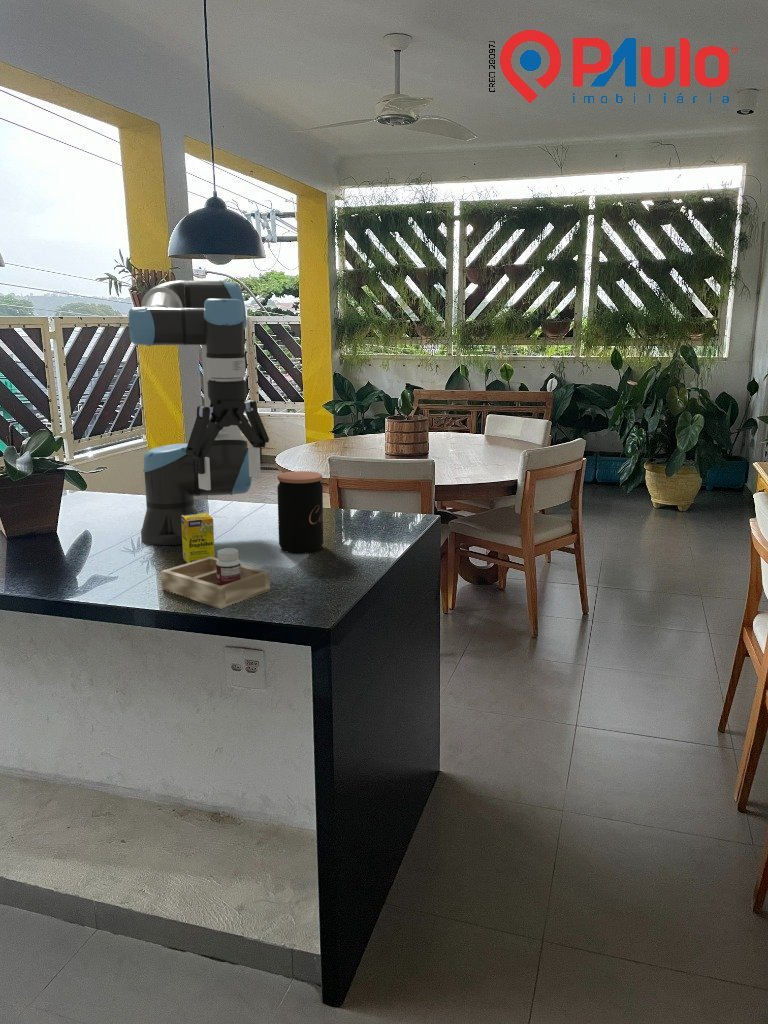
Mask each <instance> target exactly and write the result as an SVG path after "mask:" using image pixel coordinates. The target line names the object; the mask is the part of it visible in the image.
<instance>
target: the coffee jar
mask: <svg viewBox="0 0 768 1024" xmlns="http://www.w3.org/2000/svg"><path fill="white" fill-rule="evenodd" d="M276 477H277V480H278V485H277V488H276V489H277V516H278V517H277V521H278V522H277V525H278V528H277V529H278V545H279V547H280V548H281V550H282V551H283V552H285V553H288V554H295V555H297V554H298V555H299V554H300V555H303V554H310V553H315V552H318V551H319V550H321V547H323V544H324V501H323V500H324V495H323V494H324V492H323V491H324V488H323V487H324V486H323V484H322V482H321V481H322V480H323V474H322V473H319V472H315V471H307V470H294V471H285V472H281V473H279V474H277V476H276Z"/></svg>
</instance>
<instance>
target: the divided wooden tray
mask: <svg viewBox="0 0 768 1024" xmlns="http://www.w3.org/2000/svg"><path fill="white" fill-rule="evenodd" d="M217 560H218V557H211V556H210V557H207V558H203V559H200V560H197V561H193V562H190V563H183V564H180V565H177V566H173V567H170V568H167V569H163V570H160V572H161V573H160V574H161V589H162V591H164V590H166V591H165V592H168V591H169V592H168V593H171V592H173V593H172V594H174V593H176V594H175V595H177V594H179V595H178V596H180V595H181V596H180V597H183V596H184V598H186V597H187V598H186V599H189V598H190V600H193V601H195V602H199V603H202V604H205V605H207V606H212V607H214V608H218V609H220V610H222V609H224V608H225V609H226V608H228V607H230V606H233V605H235V603H236V604H238V603H240V601H241V602H244V601H246V600H250V599H252V598H254V597H257V596H260V595H262V593H263V594H265V593H268V592H270V591H271V590H270V587H271V586H270V585H271V584H270V583H271V582H270V571H267V570H263V569H260V568H255V567H253V566H248V565H246V564H245V565H244V564H241V579H240V580H237V581H234V582H231V583H228V584H225V585H222V586H219V585H217V570H216V562H217ZM245 599H246V600H245ZM243 600H244V601H243ZM232 604H233V605H232ZM229 605H230V606H229ZM227 606H228V607H227Z"/></svg>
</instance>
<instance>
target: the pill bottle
mask: <svg viewBox="0 0 768 1024" xmlns="http://www.w3.org/2000/svg"><path fill="white" fill-rule="evenodd" d="M239 557H240V556H239V549H238V548H233V547H227V548H226V547H225V548H222V549H219V550H217V558H218V560H217V562H216V570H217V585H219V586H222V585H225V584H228V583H231V582H234V581H237V580H240V579H241V565H242V563H241V560H240V558H239Z"/></svg>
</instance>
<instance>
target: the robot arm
mask: <svg viewBox="0 0 768 1024" xmlns="http://www.w3.org/2000/svg"><path fill="white" fill-rule="evenodd" d="M245 305H246V304H245V300H244V296H243V292H242V289H241V287H240V284H238V283H237V282H236V281H235V282H234V281H225V280H182V279H181V280H180V279H179V280H178V279H177V280H172V281H171V280H170V281H166V282H162V283H160V284H157V285H156V286H154V287H151V288H150V289H149V290H148V291H146V292H145V293H144V295H143V298H142V300H141V306H140V307H139V306H136V307H131V308H130V309H129V311H128V329H129V330H128V331H129V337H130V338H129V339H130V341H131V343H132V344H134V345H136V346H147V347H151V346H201V360H202V361H201V362H202V378H203V379H202V381H203V401H204V405H198V406H197V407H196V419H195V421H194V423H193V427H192V430H191V433H190V435H189V440H188V441H187V442H188V443H173V444H167V445H160V446H156V447H153V448H151V449H149V450H148V451H146V452H145V453H144V456H143V469H142V471H143V472H144V483H145V484H144V486H145V487H144V488H145V502H146V503H145V504H146V510H145V515H144V517H143V522H142V523H143V524H142V527H141V529H140V535H141V536H140V537H141V541H142V542H143V543H145V544H149V545H156V546H173V545H174V546H176V545H182V524H181V515H191V514H198V512H197V509H196V506H195V505H196V504H195V497H199V496H200V497H204V496H205V497H206V496H227V495H230V496H233V495H238V494H239V495H243V494H246V493H248V492H249V491H250V490H251V485H252V482H253V478H254V479H261V478H262V477H261V475H262V474H261V462H262V460H263V458H262V457H263V456H262V453H263V452H262V449H263V448H265V447H266V443H269V442H270V438H269V435H268V433H267V431H266V428H265V425H264V423H263V421H262V419H261V416H260V414H259V412H258V403H257V401H256V400H250V399H246V397H247V382H246V381H245V379H243V378H245V377H246V354H245V329H246V328H247V324H248V323H247V315H246V313H247V312H246V306H245ZM245 414H246V415H245ZM241 433H242V434H243V435H244V436H243V435H242V434H241ZM248 442H249V444H250V446H248Z"/></svg>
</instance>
